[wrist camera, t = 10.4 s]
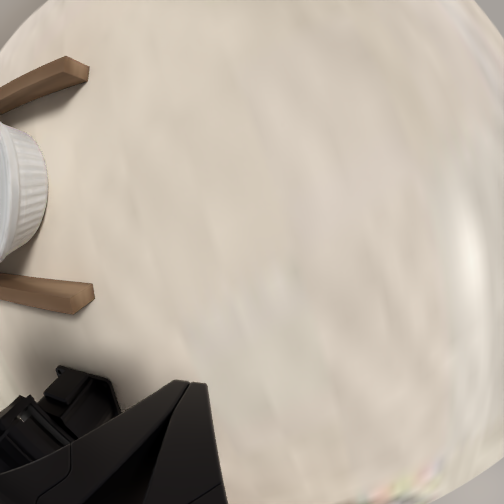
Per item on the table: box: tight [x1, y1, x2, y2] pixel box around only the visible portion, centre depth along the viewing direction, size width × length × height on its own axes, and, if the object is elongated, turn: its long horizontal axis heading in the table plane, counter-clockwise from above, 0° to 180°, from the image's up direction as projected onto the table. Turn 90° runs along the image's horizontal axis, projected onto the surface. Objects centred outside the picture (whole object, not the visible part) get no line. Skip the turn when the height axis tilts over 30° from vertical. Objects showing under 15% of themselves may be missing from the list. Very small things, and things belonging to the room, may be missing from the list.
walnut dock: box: [0, 56, 95, 314], centre depth 17 cm, size 17×15×3 cm
